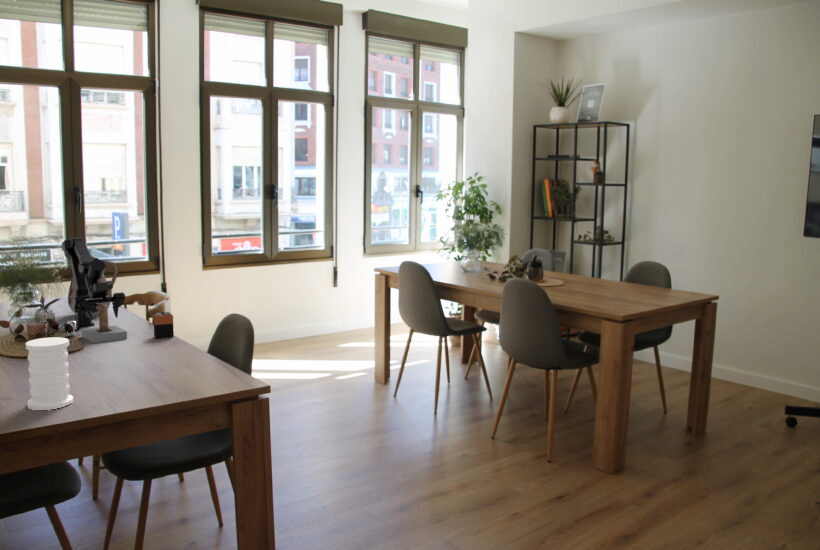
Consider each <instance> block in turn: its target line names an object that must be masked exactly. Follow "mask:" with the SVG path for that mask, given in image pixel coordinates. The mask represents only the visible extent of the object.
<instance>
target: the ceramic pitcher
mask: <svg viewBox="0 0 820 550" xmlns="http://www.w3.org/2000/svg"><path fill="white" fill-rule="evenodd" d="M99 260H100V261H103V262H104V263H105V265H110V266H111V267H112V268H113V275H112V278H111V280H110V281H112V283H113V286H114V285H115V283H116V280H117V277H118V271H119V270H118V266H117V264H116V263H115V262H113V261H111V260H110V261H109V260H104V259H99ZM86 276H87V275H85V277H86ZM101 281H102V282H107V281H108V280H107V279H106V276H105V273H104V274H103V277H102V278H101ZM112 291H113V288H112V289H110V290H108V291H107V292H108V295H106V297H113V292H112ZM75 293H76V286H75V282H74V277H73V274H72V276H71V281H70V284H69V288H68V296H67V303H68V306H69V308H70V310H71V311H72V307H71V305H72V302H73V298H74V295H75ZM99 305H107V306H108V308H109V307H110V305H111V302H109V303H98V304H96V311H91V314H92V317H99ZM73 313H74V314H75V315H76V316H77V312H76V313H75V312H73Z"/></svg>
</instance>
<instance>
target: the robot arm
mask: <svg viewBox="0 0 820 550" xmlns="http://www.w3.org/2000/svg"><path fill="white" fill-rule="evenodd" d="M61 251H63V253H64V257H65V258H67V259H68V261H69V263H70V266H71V271H72V275H73V277H74V282H75V286H76V293H75V295H74V298H73V302H72V305H71V307H72V310H71V311H72V312H73V313H74V312H75V313H76V312H77V315H76V327H78V328H83V327H89V326H91V327H92V326H95V325H96V324H95V323H94V322H93V320H94V316H92V314H91V311H96V304H98V303H109V302H110V303H111V304H112V310H113V314H114V316H115V318H117V319H118V315H119V308H121V306H124V303H125V300H126V294H125V292H113V293H112V297H106V295H108V292H107V291H108V290H110V289H112V290H113V288H114V285H113V283H112V281H111V280H106V281H107V282H102V281H101V278H102V277H103V274H104V275H105V269H106V265H105V263H104V262H103V261H100V260H101V259H99V258H98V257H94V256H92V255H91V252H90V251H89V249H88V246H87V244H86V240H85V237H72V238H70V239H65V240H64V241H62V242H61ZM85 275H87V276H86V277H85ZM75 313H74V314H75ZM79 326H81V327H79Z"/></svg>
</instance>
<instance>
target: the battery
mask: <svg viewBox="0 0 820 550" xmlns="http://www.w3.org/2000/svg"><path fill="white" fill-rule="evenodd" d="M174 334H175V332H174V315H173V314H172V313H171V312H170V311H164V313H161V312H156V314H153V336H154V338H155V339H157V340H158V339H159V340H160V339H169V338H174V336H175V335H174Z"/></svg>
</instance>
